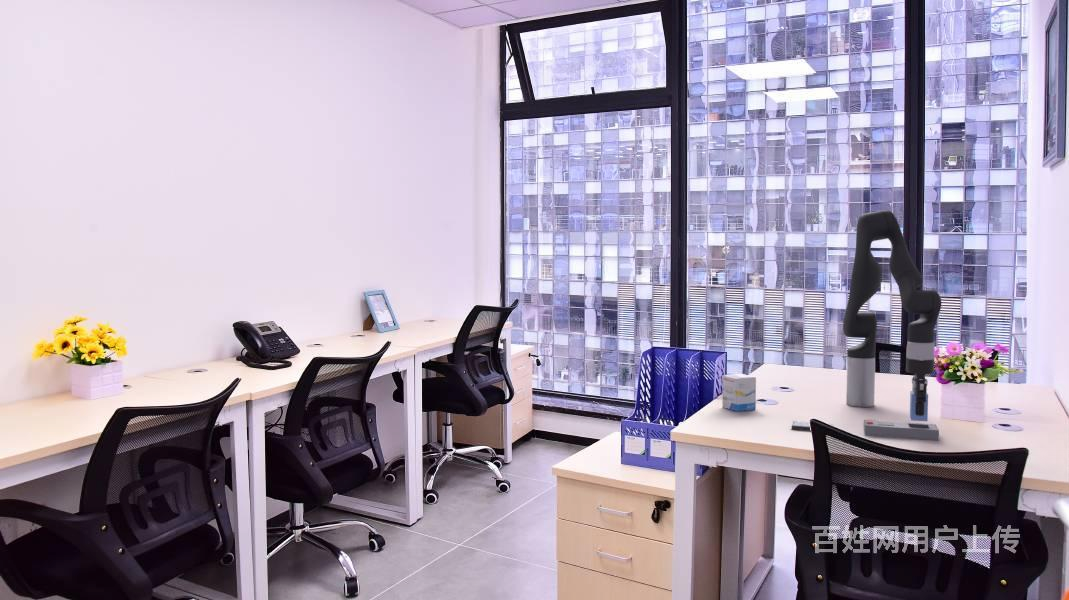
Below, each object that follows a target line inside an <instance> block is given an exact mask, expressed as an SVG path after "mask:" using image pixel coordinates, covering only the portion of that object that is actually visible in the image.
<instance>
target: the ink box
mask: <svg viewBox="0 0 1069 600" xmlns="http://www.w3.org/2000/svg"><path fill="white" fill-rule="evenodd" d="M721 379H722V382H721V383H722V387H721V388H722V391H721V393H722V396H721V397H722V399H721V400H722V401H721V402H722V403H721V404H722V408H723V407H724V409H727V408H728V410H730V409H731V410H730V411H733V410H735V412H737V411H738V412H745V411H744V410H746V411H754V409H755V410H757V409H756V408H757V406H756V404H757V403H756V401H757V399H756V398H757V394H756V393H757V391H756V390H757V389H756V388H757V377H755V376H753V375H752V376H751V375H748V374H744V373H733V374H732V373H730V374H723V375H722V378H721Z"/></svg>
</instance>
